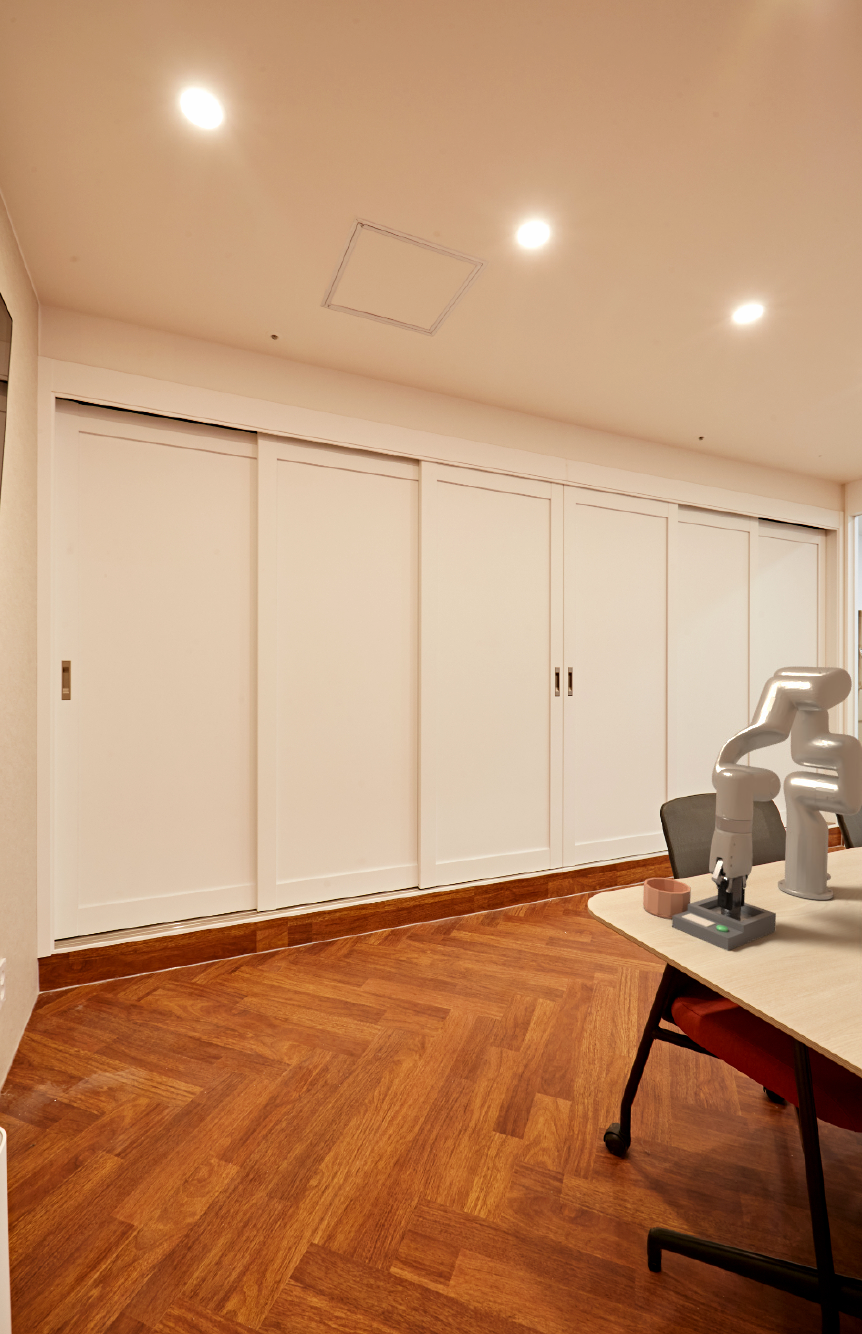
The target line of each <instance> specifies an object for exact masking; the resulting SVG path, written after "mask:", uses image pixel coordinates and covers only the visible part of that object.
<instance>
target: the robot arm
mask: <svg viewBox="0 0 862 1334" xmlns="http://www.w3.org/2000/svg"><path fill="white" fill-rule="evenodd" d="M852 686H853V685H852V677H851V676H850V673H849V672H848V671H847V670H845V669H844V668H842V667H834V666H833V667H830V666H824V667H823V666H820V667H819V666H786V667H785V666H784V667H781V668H778V669H777V670H776V671H774V674H773V676H771V677H769V678H768V679H767V680H766V682H765V684H764V686H763V688H762V691H761V694H760V696H759V700H758V702H757V704H756V708H755V711H754V714H753V716H752V719H751V722H750V724H749V725H747V727H744V728H743V729H742V730H739V731H738V732H736V733H735V734H734V735H733V736H732V737H731V738H729V739H728V740H727V741H726V742H725V743H724V744H723V746H722V747H721V748H720V750H719V752H718V754H717V757H716V760H715V762H714V766H713V769H712V774H711V784H712V786H713V788H714V789H715V791H716V793H715V794H716V795H715V796H716V797H715V822H714V823H715V824H714V825H715V827H714V830H713V834H712V839H711V846H710V855H709V868H708V870H709V873H710V874H711V875H712V876H711V881H713V883H715V885H716V889H717V895H718V902H717V905H718V907H721V908H724V909H726V910H729V911H731V910H732V905H733V892H731V888H732V881H733V878H737V877H740V876H742V893H741V907H743V906H744V902H745V895H746V894H745V891H746V887H747V880H748V879H749V876H750V874H751V873H752V869H753V860H754V859H753V837H752V835H753V824H754V823H753V822H754V802H763V803H764V802H770V801H772V800H774V799H775V798H776V797H777V796H778V795H779V793H780V791H781V787H782V786H783V795H784V801H785V802H784V803H785V808H786V810H785V813H786V825H785V826H786V829H785V855H784V859H785V861H784V879H780V880H778V882H777V888H779V889H780V890H781V891H783V892H784V893H787V894H789V895H792V896H795V897H799V898H801V899H802V898H803V899H809V900H817V901H819V900H820V901H821V900H824V901H827V900H830V899H833V897H834V891H833V890H832V889H831V888H829V887H828V886H827V885H828V884H827V883H828V881H829V880H831V879H832V876H831V874H830V873H828V861H829V860H828V857H829V855H828V854H829V826H828V823H827V821H826V819H825V817H824V816H823V814H822V813H821V812H827V813H831V814H838V815H842V816H854V815H857V814H858V813H859V812H860V810H861V809H862V744H861V742H860V740H859V739H858V738H857V737H855V736H852V735H849V734H844V733H834V732H831V731H830V730H829V729H830V728H829V727H830V726H829V723H830V722H829V719H830V716H829V711H828V710H831V709H832V708H834V707H836V706H838V705H839V704H840V703H843V702H844V701H845V700H847V698H848V696H849V695H850V693H851V690H852ZM789 736H790V754H791V755H790V756H791V760H792V761H793V762H794V763H795V764H796V765H798V766H802V767H806V768H813V769H819V770H827V771H834V772H836V774H837V775H832V774H825V773H821V772H813V771H807V770H806V771H804V770H797V771H792V772H790V773H789V774H787V775H786V776H785V778H784V781H783V785H782V786H781V784H782V783H781V779H780V778H779V775H778V774H777V773H776V772H774V771H773V770H770V769H768V768H763V767H756V766H751V765H747V764H745V765H744V764H739V763H738V762H739V760H741V758H742V757H744V756H745V755H747V754H749V753H750V752H753V751H756V750H759V749H763V748H767V747H770V746H775V745H777V744H780V743H783V742H785V741H786V740H787V739H788V738H789ZM723 873H725V874H726V876H724V875H723ZM723 879H725V880H727V884H726V883H725V881H723Z"/></svg>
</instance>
